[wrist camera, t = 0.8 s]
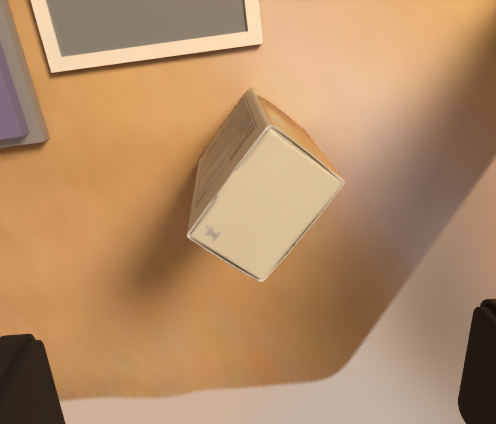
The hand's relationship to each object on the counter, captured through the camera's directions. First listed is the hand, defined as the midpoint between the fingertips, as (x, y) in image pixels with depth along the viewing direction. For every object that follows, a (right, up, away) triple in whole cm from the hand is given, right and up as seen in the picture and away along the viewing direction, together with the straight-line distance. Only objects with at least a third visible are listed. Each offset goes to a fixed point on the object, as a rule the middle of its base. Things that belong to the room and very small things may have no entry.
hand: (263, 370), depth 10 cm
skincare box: (0, +8, +21) cm, 22 cm away
